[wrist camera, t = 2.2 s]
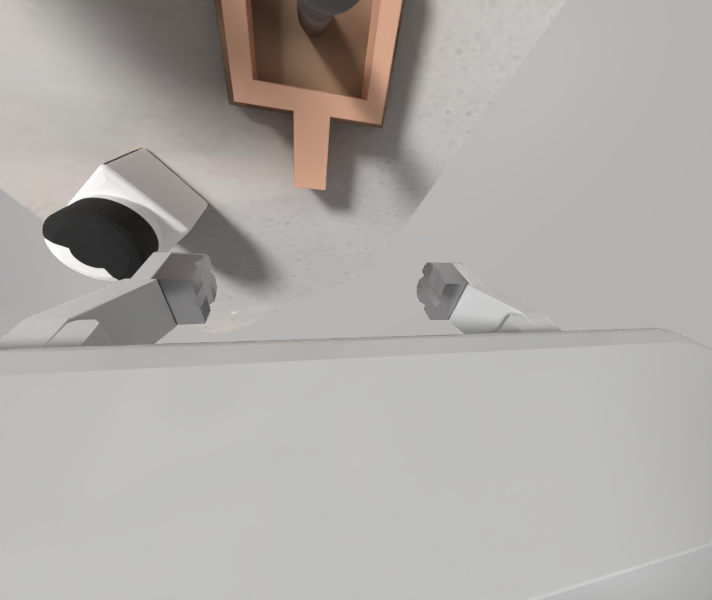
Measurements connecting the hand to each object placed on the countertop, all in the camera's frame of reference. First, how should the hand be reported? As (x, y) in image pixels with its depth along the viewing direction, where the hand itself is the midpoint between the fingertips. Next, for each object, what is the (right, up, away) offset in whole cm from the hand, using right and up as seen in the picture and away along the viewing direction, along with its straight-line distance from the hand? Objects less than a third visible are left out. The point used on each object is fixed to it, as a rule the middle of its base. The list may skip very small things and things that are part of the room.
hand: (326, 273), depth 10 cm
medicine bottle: (-20, +10, +18) cm, 29 cm away
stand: (-2, +22, +11) cm, 25 cm away
